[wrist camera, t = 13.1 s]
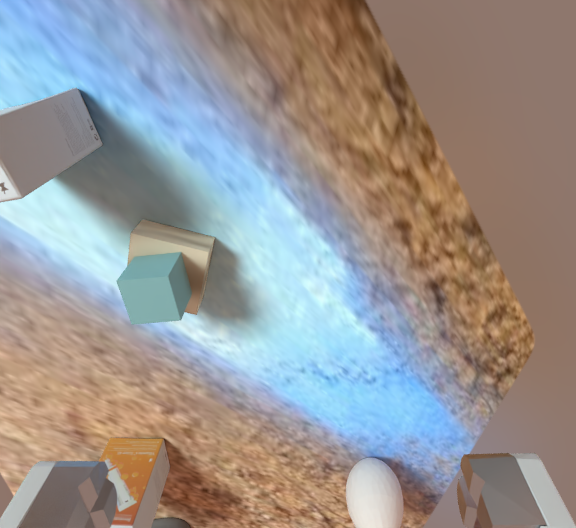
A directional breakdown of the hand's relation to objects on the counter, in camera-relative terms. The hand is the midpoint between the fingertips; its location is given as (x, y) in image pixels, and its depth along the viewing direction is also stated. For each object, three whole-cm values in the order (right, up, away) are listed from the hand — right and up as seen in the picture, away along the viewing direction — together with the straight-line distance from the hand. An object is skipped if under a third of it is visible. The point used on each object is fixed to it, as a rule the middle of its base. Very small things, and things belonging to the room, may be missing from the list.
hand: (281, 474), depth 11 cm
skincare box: (-23, +18, +35) cm, 46 cm away
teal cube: (-13, +4, +38) cm, 40 cm away
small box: (-21, -22, +56) cm, 64 cm away
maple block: (-13, +5, +41) cm, 44 cm away
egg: (+12, -23, +56) cm, 61 cm away
